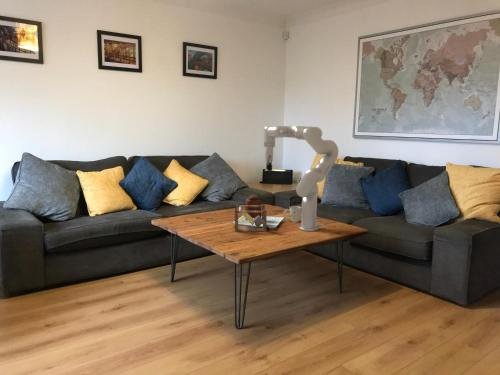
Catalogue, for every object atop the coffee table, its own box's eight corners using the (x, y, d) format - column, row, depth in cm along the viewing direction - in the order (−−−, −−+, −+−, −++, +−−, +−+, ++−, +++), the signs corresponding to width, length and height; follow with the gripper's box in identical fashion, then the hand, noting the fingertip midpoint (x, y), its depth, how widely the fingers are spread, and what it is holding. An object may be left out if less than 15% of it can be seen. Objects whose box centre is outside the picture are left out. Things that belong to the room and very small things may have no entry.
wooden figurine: (262, 219, 298) (262, 194, 295) (261, 221, 291) (261, 196, 289) (245, 218, 299) (246, 193, 297) (244, 220, 293) (244, 195, 290)
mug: (301, 222, 289) (302, 208, 287) (283, 222, 289) (283, 208, 288) (300, 219, 297) (301, 205, 295) (282, 219, 297) (283, 205, 296)
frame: (264, 223, 285) (264, 204, 283) (266, 231, 265) (266, 210, 263) (235, 223, 284) (235, 204, 282) (234, 231, 264) (234, 210, 262)
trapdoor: (251, 219, 281) (253, 217, 281) (252, 224, 267) (254, 222, 267) (239, 207, 279) (240, 205, 279) (239, 211, 266) (240, 209, 265)
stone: (257, 225, 277) (263, 220, 277) (257, 227, 272) (263, 222, 272) (252, 219, 276) (258, 215, 276) (253, 221, 271) (258, 216, 271)
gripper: (263, 144, 290) (262, 168, 292) (264, 145, 273) (264, 171, 275) (274, 144, 290) (273, 168, 293) (276, 145, 273) (275, 171, 275)
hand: (269, 170), depth 284 cm, fingers open, 9 cm apart
